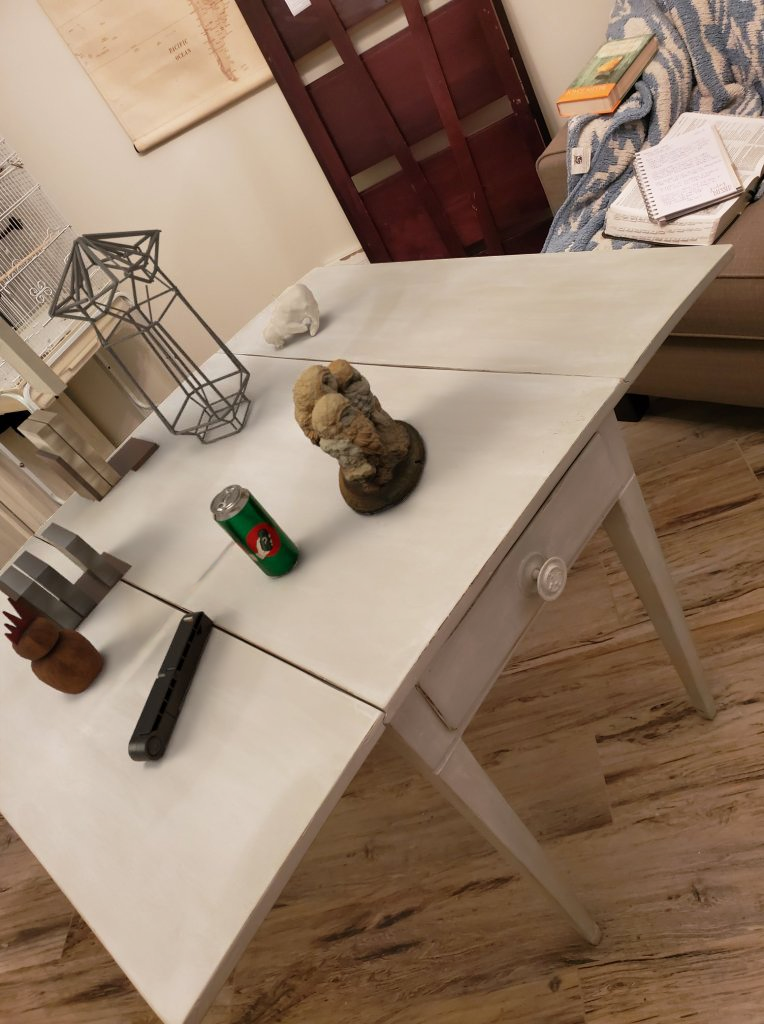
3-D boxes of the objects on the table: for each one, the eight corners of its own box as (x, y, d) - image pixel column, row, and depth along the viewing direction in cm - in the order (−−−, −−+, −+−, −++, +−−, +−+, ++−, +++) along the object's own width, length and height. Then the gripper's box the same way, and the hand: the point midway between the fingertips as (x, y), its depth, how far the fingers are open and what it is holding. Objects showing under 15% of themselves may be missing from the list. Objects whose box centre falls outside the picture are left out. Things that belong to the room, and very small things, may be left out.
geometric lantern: (177, 466, 118) (12, 288, 97) (205, 405, 129) (62, 233, 107) (254, 440, 112) (96, 243, 90) (277, 379, 122) (140, 189, 101)
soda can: (307, 544, 88) (251, 478, 81) (293, 578, 85) (233, 513, 78) (274, 548, 91) (218, 484, 83) (260, 581, 88) (199, 518, 80)
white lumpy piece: (300, 288, 120) (244, 325, 124) (330, 327, 125) (275, 361, 129) (301, 272, 125) (247, 309, 129) (329, 310, 130) (277, 344, 134)
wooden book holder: (103, 505, 121) (32, 438, 112) (81, 496, 128) (11, 432, 118) (159, 446, 126) (95, 377, 117) (134, 440, 133) (72, 374, 123)
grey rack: (71, 643, 98) (15, 602, 92) (45, 623, 105) (-9, 583, 99) (137, 569, 103) (87, 525, 97) (108, 555, 109) (60, 512, 103)
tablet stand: (159, 765, 75) (140, 753, 73) (141, 766, 76) (122, 753, 74) (215, 621, 87) (200, 607, 85) (199, 623, 88) (184, 609, 86)
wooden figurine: (103, 648, 94) (14, 580, 85) (119, 666, 90) (27, 597, 80) (63, 689, 92) (-32, 625, 83) (78, 710, 88) (-21, 644, 78)
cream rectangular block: (57, 396, 110) (-22, 316, 101) (36, 392, 116) (-40, 316, 107) (68, 386, 111) (-10, 306, 101) (46, 382, 117) (-28, 307, 108)
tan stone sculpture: (436, 496, 83) (366, 384, 72) (346, 537, 85) (267, 434, 75) (416, 410, 96) (355, 306, 86) (339, 447, 99) (271, 350, 89)
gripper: (-65, 209, 102) (28, 309, 112) (-147, 270, 97) (-41, 369, 107) (-51, 203, 96) (45, 308, 107) (-136, 267, 91) (-26, 371, 102)
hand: (1, 338), depth 107 cm, fingers closed on cream rectangular block, 2 cm apart
